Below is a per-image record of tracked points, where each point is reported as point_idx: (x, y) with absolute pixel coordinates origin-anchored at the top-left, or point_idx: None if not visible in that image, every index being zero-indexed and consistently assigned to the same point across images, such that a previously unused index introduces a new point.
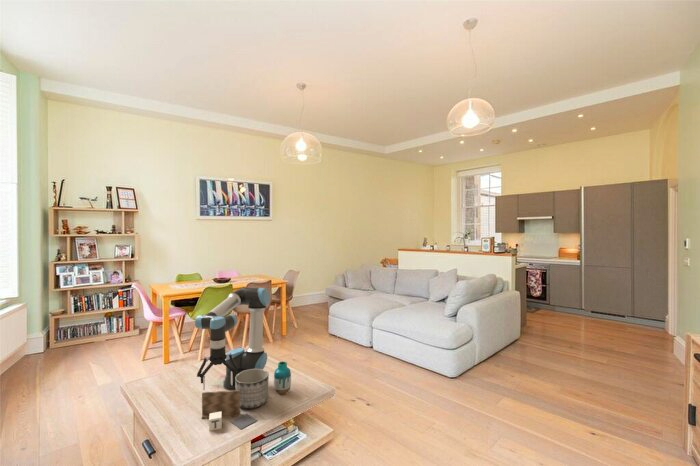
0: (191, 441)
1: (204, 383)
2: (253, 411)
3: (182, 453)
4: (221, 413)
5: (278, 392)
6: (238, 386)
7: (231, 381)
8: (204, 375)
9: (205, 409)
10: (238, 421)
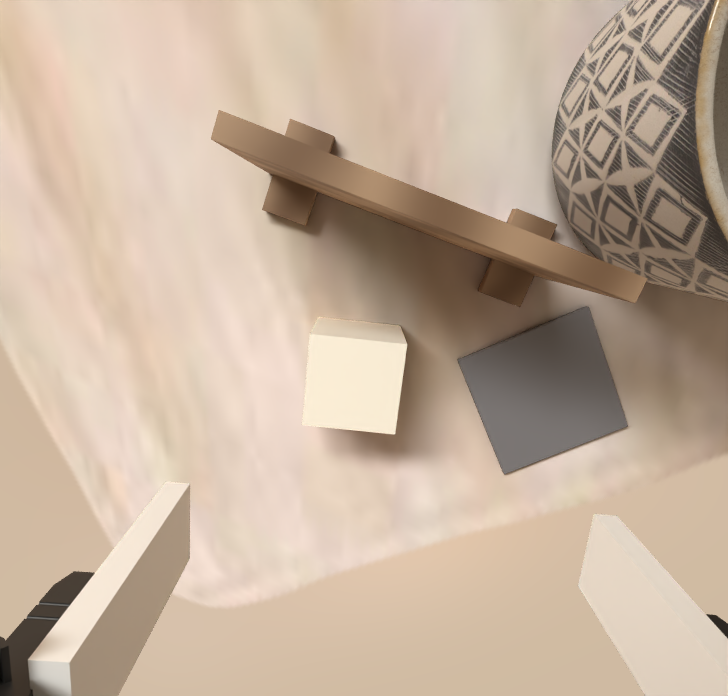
0: (205, 454)
1: (140, 643)
2: None
3: None
4: (402, 377)
5: None
6: (666, 202)
7: (616, 637)
8: (59, 667)
9: (285, 177)
10: (508, 383)
